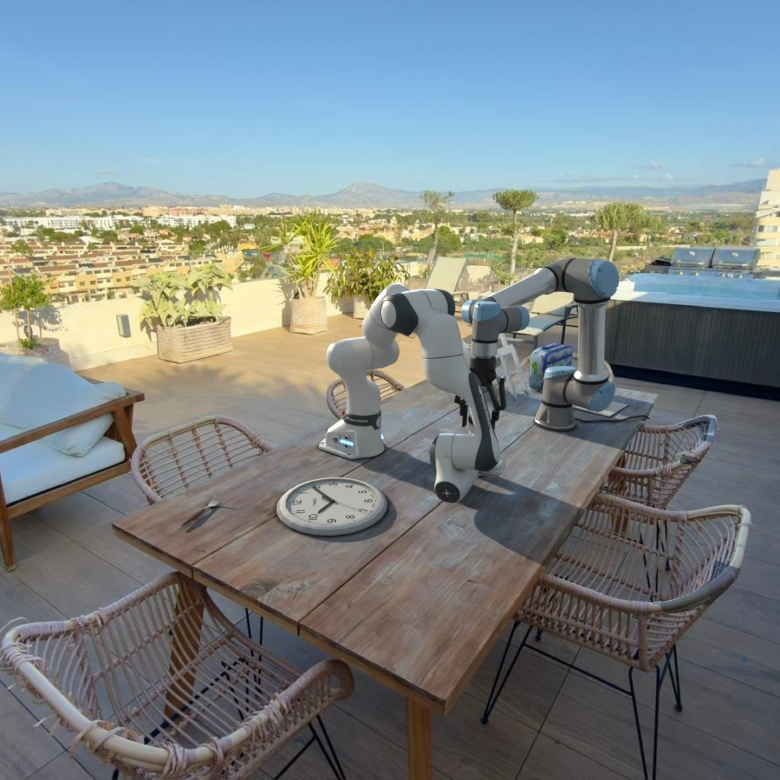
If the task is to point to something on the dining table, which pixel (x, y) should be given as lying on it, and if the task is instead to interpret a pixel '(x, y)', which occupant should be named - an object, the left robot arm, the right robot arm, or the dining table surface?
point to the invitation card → (607, 409)
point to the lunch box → (547, 362)
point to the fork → (211, 504)
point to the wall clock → (331, 506)
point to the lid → (470, 419)
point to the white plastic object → (503, 363)
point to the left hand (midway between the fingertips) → (477, 451)
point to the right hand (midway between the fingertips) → (478, 427)
